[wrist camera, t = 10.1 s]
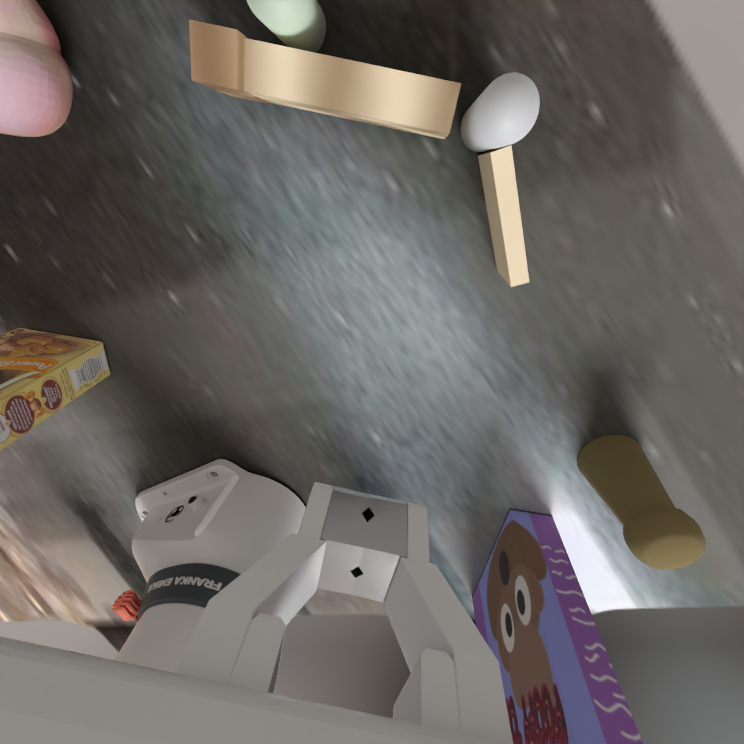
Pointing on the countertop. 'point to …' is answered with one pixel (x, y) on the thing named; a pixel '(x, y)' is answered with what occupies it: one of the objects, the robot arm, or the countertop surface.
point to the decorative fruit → (31, 72)
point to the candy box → (43, 376)
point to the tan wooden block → (320, 82)
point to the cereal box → (547, 641)
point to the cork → (640, 503)
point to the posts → (478, 128)
